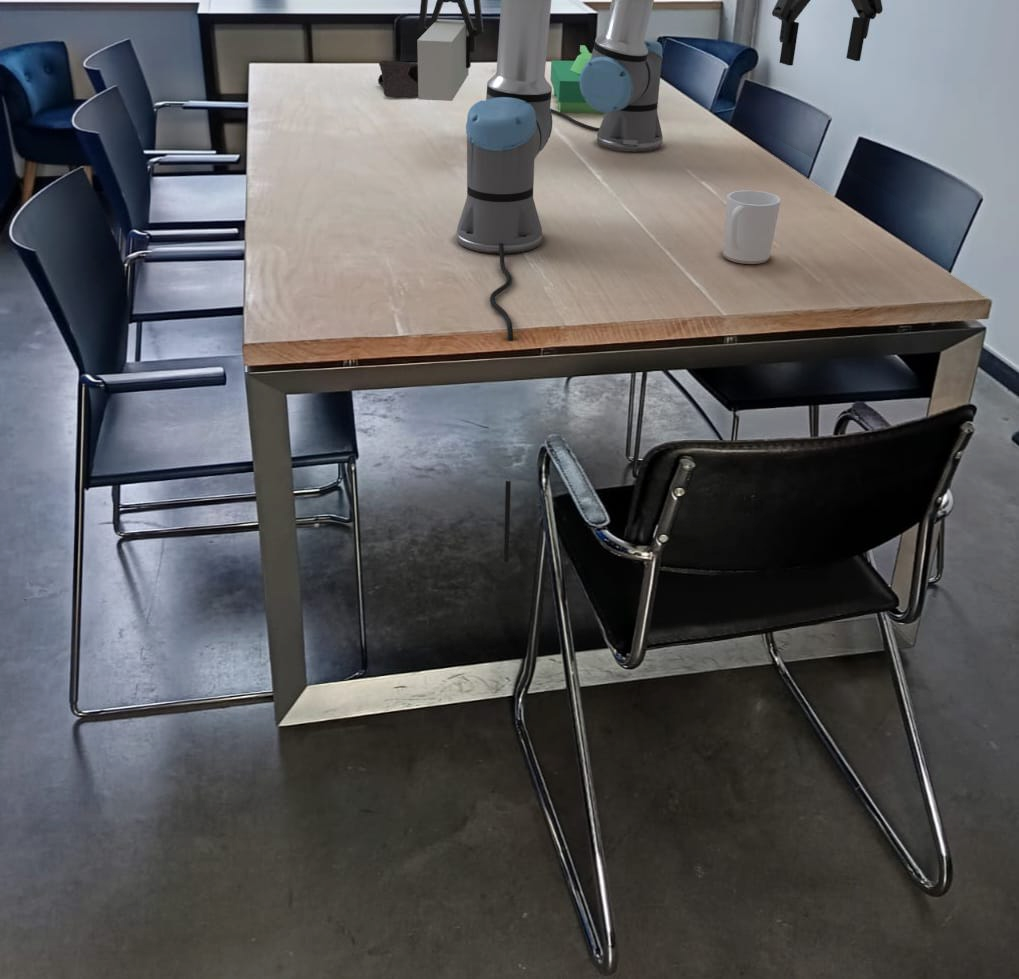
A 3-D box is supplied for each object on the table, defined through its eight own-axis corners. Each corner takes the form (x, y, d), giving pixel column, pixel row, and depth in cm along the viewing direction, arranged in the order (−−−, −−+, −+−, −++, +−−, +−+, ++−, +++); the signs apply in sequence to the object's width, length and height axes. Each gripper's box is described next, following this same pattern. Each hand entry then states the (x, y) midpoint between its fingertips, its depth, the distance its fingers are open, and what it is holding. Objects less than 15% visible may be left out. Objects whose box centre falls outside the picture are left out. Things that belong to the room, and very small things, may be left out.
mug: (736, 244, 196) (743, 187, 191) (781, 255, 191) (790, 197, 186) (704, 259, 189) (711, 200, 183) (750, 272, 184) (758, 211, 179)
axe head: (443, 87, 294) (392, 77, 287) (436, 115, 299) (385, 106, 292) (421, 62, 307) (371, 52, 300) (414, 89, 311) (365, 80, 304)
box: (452, 101, 232) (451, 41, 225) (418, 99, 232) (417, 40, 226) (468, 74, 256) (468, 20, 249) (437, 73, 256) (437, 19, 250)
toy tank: (613, 42, 302) (631, 66, 272) (610, 88, 309) (627, 117, 279) (549, 40, 301) (560, 65, 272) (547, 87, 308) (558, 116, 278)
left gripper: (890, -84, 179) (865, 53, 190) (762, -83, 170) (744, 61, 182) (921, -80, 173) (894, 61, 184) (790, -79, 165) (770, 70, 176)
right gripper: (497, -45, 242) (496, 64, 254) (407, -48, 244) (410, 61, 256) (494, -41, 236) (493, 71, 248) (402, -44, 237) (405, 67, 249)
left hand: (819, 62), depth 183 cm, fingers open, 13 cm apart
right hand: (451, 66), depth 252 cm, fingers closed on box, 7 cm apart
